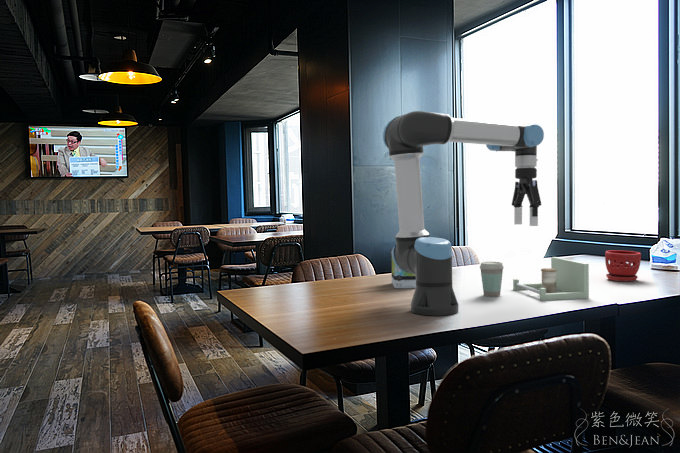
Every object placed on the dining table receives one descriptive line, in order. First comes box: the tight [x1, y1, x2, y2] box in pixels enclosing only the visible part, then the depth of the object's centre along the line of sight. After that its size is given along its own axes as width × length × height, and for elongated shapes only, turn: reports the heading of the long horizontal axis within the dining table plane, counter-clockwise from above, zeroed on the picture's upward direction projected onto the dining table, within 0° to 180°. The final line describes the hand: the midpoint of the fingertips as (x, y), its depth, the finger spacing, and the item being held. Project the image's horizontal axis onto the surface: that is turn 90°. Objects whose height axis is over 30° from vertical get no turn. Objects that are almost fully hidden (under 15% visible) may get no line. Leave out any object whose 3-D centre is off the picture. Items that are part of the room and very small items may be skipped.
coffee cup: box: [479, 261, 504, 298], centre depth 197 cm, size 8×8×12 cm
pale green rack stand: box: [512, 256, 590, 301], centre depth 197 cm, size 17×23×12 cm
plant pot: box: [604, 249, 642, 282], centre depth 222 cm, size 13×13×12 cm
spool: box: [540, 267, 558, 293], centre depth 197 cm, size 5×5×9 cm
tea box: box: [390, 249, 416, 289], centre depth 224 cm, size 15×10×15 cm
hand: (525, 225), depth 199 cm, fingers open, 13 cm apart
